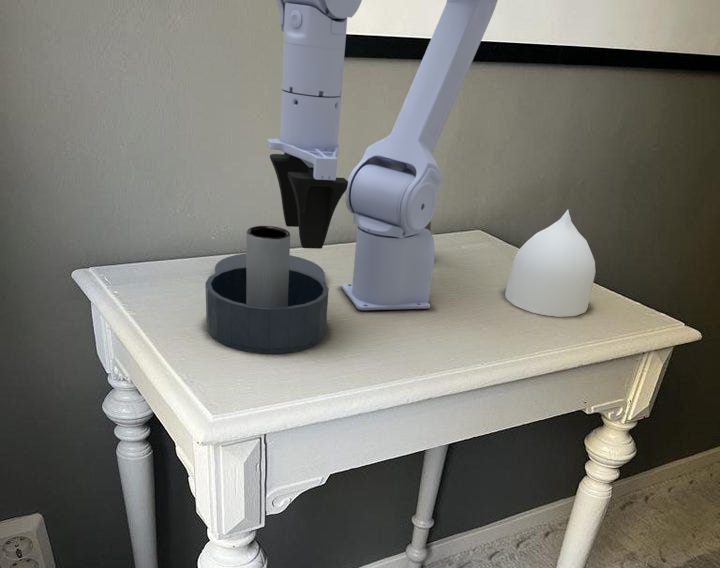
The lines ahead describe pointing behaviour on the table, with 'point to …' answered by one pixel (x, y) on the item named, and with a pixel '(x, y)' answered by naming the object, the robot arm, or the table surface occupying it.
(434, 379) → the table surface
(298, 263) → the pan lid
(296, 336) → the pan
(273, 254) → the gray hollow cylinder
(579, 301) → the teardrop
